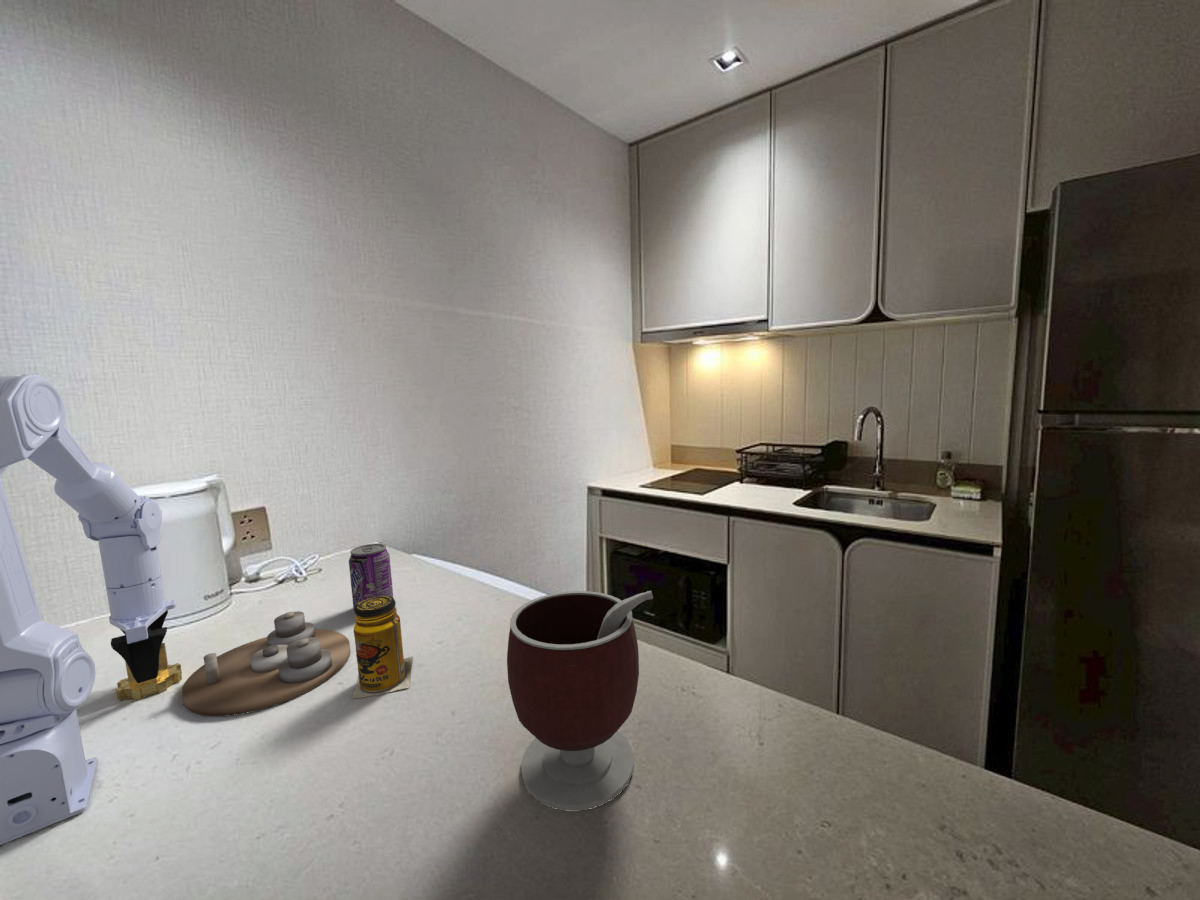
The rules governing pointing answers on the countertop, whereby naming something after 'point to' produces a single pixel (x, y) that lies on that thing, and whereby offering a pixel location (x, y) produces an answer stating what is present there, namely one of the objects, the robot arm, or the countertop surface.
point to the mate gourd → (575, 694)
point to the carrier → (267, 669)
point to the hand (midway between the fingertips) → (148, 670)
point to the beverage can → (370, 572)
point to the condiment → (379, 648)
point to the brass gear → (157, 685)
